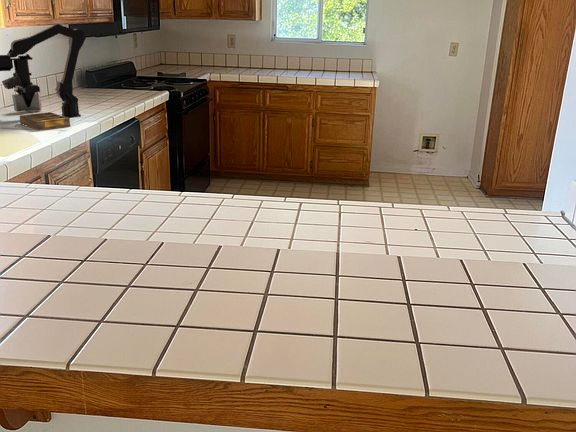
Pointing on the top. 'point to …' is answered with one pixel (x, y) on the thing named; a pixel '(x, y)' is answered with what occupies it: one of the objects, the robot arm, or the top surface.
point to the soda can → (39, 104)
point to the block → (21, 104)
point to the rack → (44, 121)
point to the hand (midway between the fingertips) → (26, 106)
